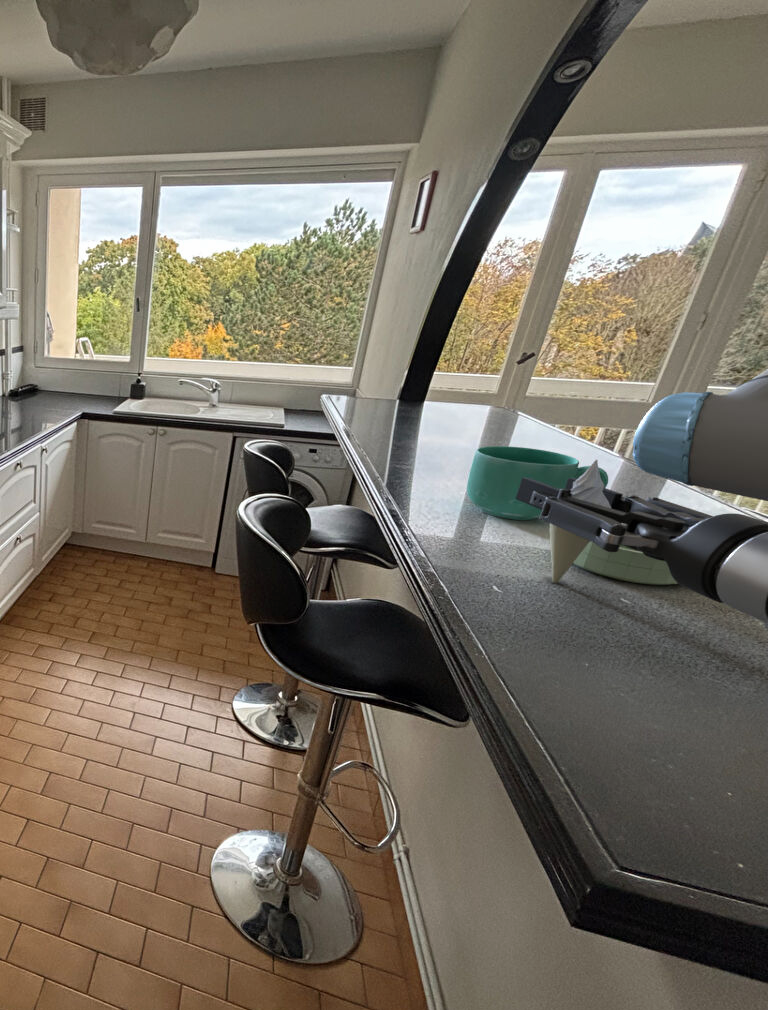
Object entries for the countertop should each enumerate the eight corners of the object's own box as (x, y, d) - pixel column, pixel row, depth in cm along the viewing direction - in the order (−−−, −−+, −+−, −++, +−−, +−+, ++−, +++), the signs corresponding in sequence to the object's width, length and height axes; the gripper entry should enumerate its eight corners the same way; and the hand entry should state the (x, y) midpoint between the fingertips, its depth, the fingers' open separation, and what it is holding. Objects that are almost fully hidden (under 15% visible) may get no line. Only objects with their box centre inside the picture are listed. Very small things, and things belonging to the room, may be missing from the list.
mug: (456, 515, 92) (473, 456, 89) (463, 496, 102) (479, 442, 98) (595, 539, 83) (619, 474, 80) (589, 516, 92) (611, 457, 89)
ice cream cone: (567, 594, 67) (610, 466, 62) (519, 577, 72) (555, 457, 66) (592, 586, 69) (636, 461, 64) (544, 570, 73) (581, 451, 68)
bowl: (670, 560, 76) (683, 531, 75) (704, 597, 67) (719, 565, 65) (551, 541, 82) (561, 514, 81) (567, 573, 73) (578, 543, 71)
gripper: (633, 606, 51) (462, 516, 73) (840, 608, 51) (607, 518, 73) (668, 525, 49) (479, 457, 70) (886, 527, 49) (630, 458, 70)
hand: (545, 488), depth 72 cm, fingers closed on ice cream cone, 5 cm apart
